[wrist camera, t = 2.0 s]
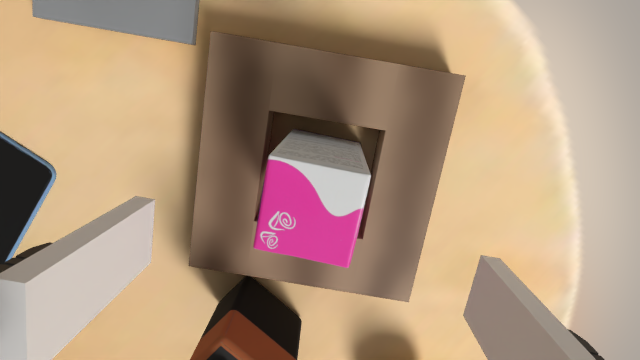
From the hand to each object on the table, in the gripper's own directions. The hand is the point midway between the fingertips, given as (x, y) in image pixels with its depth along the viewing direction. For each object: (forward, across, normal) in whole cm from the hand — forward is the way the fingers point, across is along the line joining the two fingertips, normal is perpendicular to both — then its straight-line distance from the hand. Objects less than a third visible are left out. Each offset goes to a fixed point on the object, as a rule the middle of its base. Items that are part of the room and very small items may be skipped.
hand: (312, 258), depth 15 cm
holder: (+17, 0, 0) cm, 17 cm away
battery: (+17, -3, -14) cm, 22 cm away
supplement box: (+17, 0, 0) cm, 17 cm away
